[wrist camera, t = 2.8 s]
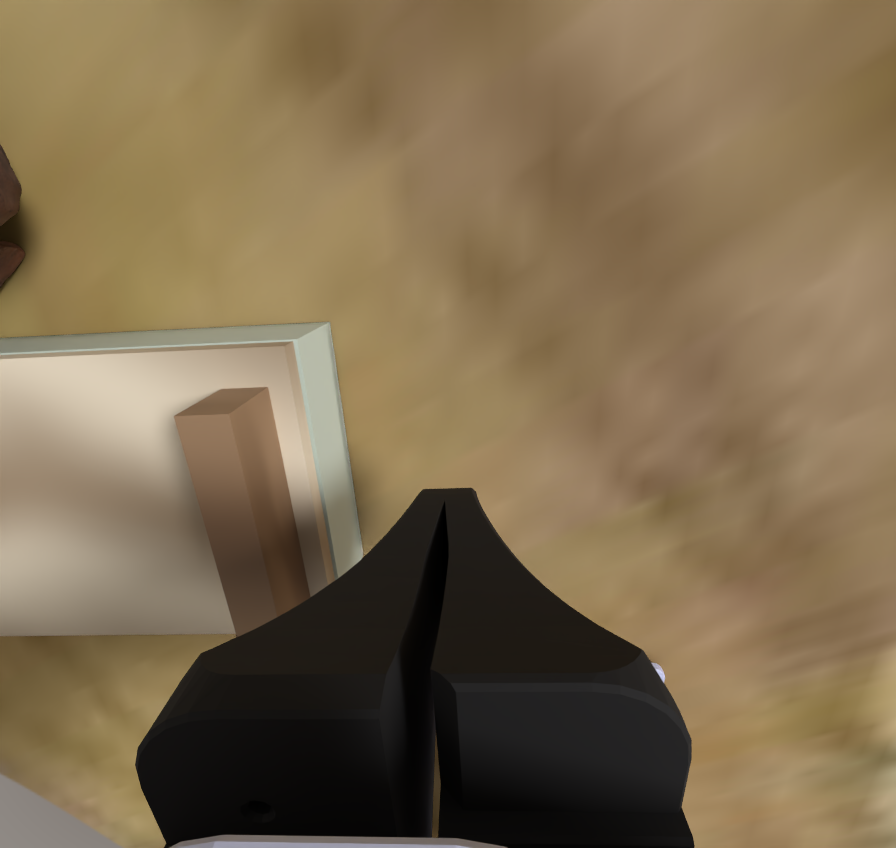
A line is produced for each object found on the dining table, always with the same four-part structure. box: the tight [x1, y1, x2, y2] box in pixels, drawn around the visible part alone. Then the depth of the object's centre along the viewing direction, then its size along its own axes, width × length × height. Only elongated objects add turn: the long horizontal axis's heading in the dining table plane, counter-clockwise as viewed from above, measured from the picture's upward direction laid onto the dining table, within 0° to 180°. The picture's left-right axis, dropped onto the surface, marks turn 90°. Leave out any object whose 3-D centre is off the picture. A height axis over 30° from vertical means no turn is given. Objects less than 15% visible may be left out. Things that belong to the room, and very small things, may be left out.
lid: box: [0, 341, 335, 637], centre depth 12 cm, size 9×12×3 cm
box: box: [0, 322, 363, 580], centre depth 15 cm, size 9×12×3 cm
